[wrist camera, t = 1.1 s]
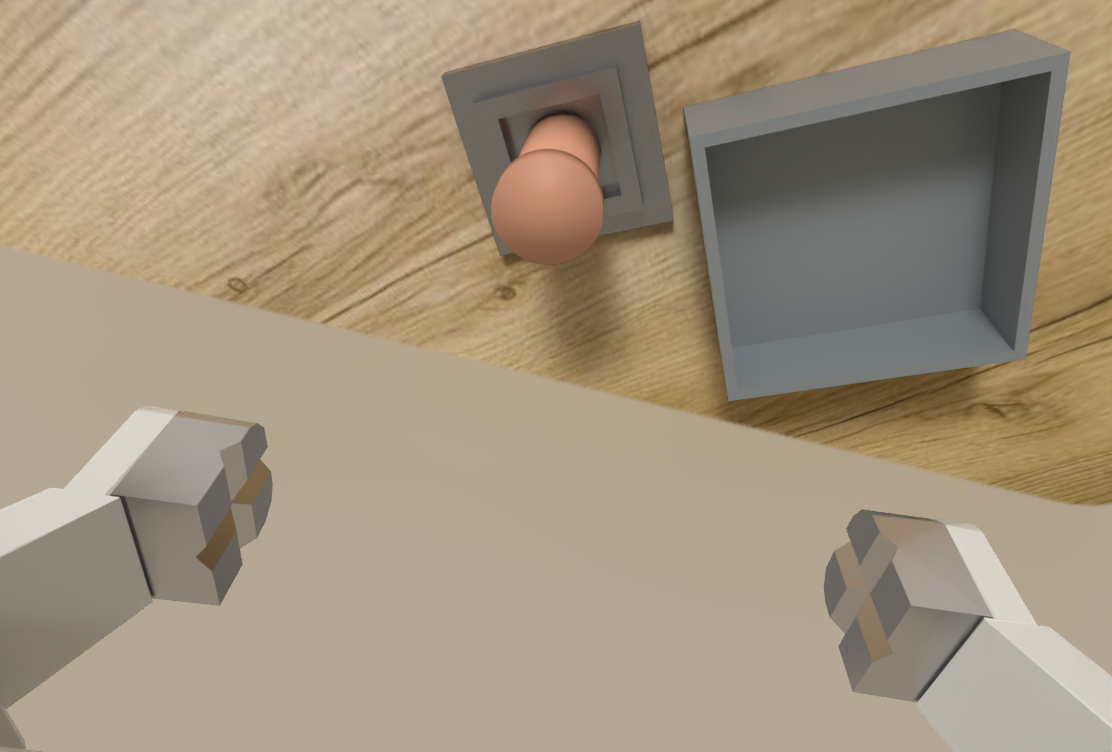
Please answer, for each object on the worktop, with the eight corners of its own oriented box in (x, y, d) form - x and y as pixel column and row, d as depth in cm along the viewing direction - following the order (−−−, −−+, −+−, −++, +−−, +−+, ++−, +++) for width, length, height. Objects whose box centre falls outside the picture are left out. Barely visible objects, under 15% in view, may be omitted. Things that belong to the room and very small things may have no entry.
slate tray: (1015, 29, 32) (1070, 51, 28) (986, 310, 40) (1025, 359, 36) (683, 107, 35) (689, 137, 31) (719, 352, 44) (728, 401, 40)
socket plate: (639, 20, 33) (640, 27, 32) (673, 215, 39) (674, 228, 37) (444, 72, 36) (436, 81, 34) (502, 249, 41) (497, 263, 40)
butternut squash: (597, 93, 35) (588, 146, 28) (617, 185, 37) (613, 253, 31) (505, 116, 36) (476, 172, 29) (531, 204, 38) (509, 273, 32)
